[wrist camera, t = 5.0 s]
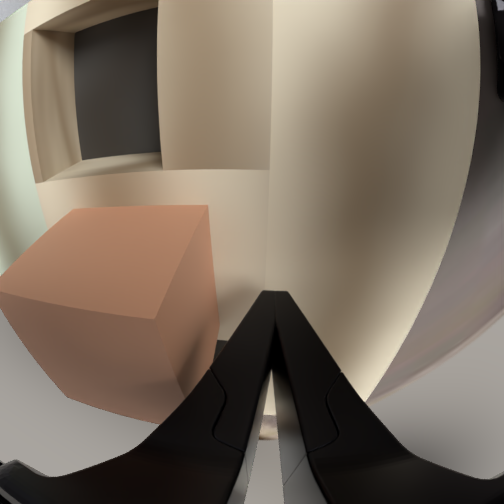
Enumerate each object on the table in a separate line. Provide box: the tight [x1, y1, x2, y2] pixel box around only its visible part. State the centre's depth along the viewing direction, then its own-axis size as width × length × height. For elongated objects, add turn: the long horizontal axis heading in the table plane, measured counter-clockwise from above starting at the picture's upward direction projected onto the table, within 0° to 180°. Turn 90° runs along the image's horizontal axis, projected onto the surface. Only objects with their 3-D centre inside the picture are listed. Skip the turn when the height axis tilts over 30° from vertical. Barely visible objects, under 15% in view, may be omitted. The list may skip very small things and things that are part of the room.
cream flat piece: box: [0, 0, 480, 415], centre depth 11 cm, size 21×22×3 cm
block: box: [0, 205, 220, 424], centre depth 8 cm, size 5×5×4 cm
